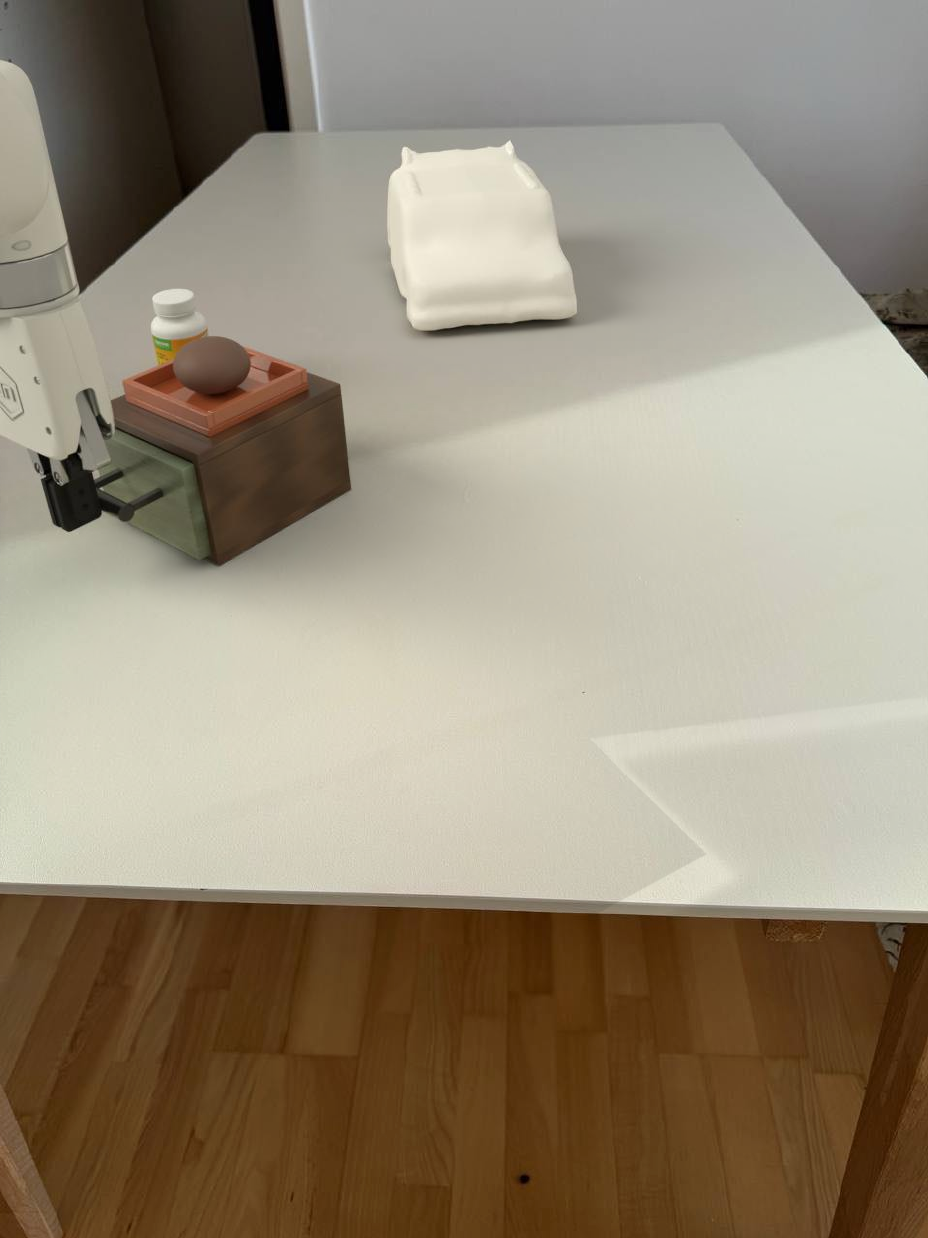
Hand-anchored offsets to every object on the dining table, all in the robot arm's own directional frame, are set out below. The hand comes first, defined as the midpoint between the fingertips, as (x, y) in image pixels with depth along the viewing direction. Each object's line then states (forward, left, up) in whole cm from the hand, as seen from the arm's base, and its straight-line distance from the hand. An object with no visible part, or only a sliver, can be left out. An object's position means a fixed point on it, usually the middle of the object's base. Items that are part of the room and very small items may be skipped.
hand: (78, 521), depth 81 cm
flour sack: (+49, +46, -5) cm, 68 cm away
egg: (+12, +7, +5) cm, 15 cm away
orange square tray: (+12, +7, +5) cm, 15 cm away
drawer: (+9, +5, -4) cm, 11 cm away
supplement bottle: (+12, +31, -5) cm, 34 cm away
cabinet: (+12, +7, -5) cm, 15 cm away
